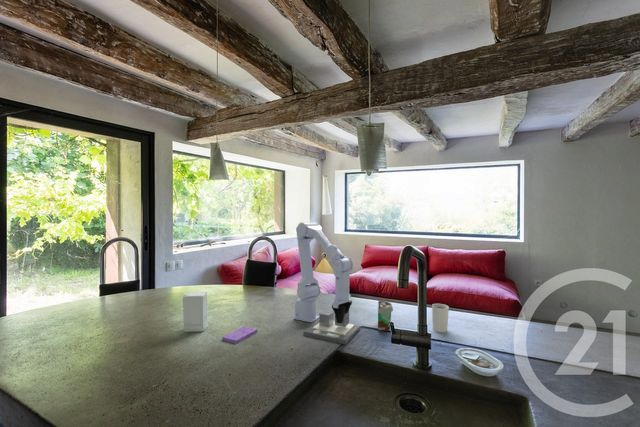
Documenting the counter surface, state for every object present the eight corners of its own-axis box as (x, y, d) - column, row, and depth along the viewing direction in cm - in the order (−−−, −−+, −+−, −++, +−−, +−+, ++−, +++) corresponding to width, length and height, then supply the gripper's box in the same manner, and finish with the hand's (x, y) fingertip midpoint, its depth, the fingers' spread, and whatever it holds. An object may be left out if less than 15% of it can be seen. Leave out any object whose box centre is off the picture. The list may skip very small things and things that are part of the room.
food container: (393, 334, 124) (393, 309, 124) (377, 332, 125) (378, 308, 125) (392, 323, 136) (392, 300, 136) (378, 322, 138) (378, 299, 137)
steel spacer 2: (334, 325, 124) (334, 312, 124) (339, 321, 128) (339, 309, 128) (345, 327, 122) (345, 314, 122) (349, 323, 126) (349, 311, 126)
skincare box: (208, 326, 130) (208, 291, 130) (203, 332, 124) (203, 295, 124) (188, 326, 129) (188, 291, 129) (182, 332, 123) (182, 295, 123)
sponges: (222, 341, 117) (222, 336, 117) (244, 329, 128) (244, 325, 128) (236, 345, 114) (236, 340, 114) (257, 333, 125) (257, 328, 125)
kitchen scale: (303, 335, 122) (303, 330, 122) (321, 321, 137) (321, 317, 137) (345, 344, 114) (345, 339, 114) (359, 329, 129) (359, 324, 129)
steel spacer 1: (319, 325, 127) (319, 313, 127) (323, 321, 131) (324, 310, 131) (329, 327, 125) (329, 315, 125) (333, 323, 129) (333, 311, 129)
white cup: (450, 333, 126) (450, 309, 125) (432, 332, 127) (433, 307, 127) (446, 327, 132) (447, 304, 132) (430, 326, 133) (430, 303, 133)
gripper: (344, 293, 117) (344, 328, 117) (357, 284, 130) (357, 316, 130) (328, 290, 120) (327, 325, 120) (342, 282, 133) (341, 314, 133)
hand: (341, 320), depth 125 cm, fingers closed on steel spacer 2, 4 cm apart
